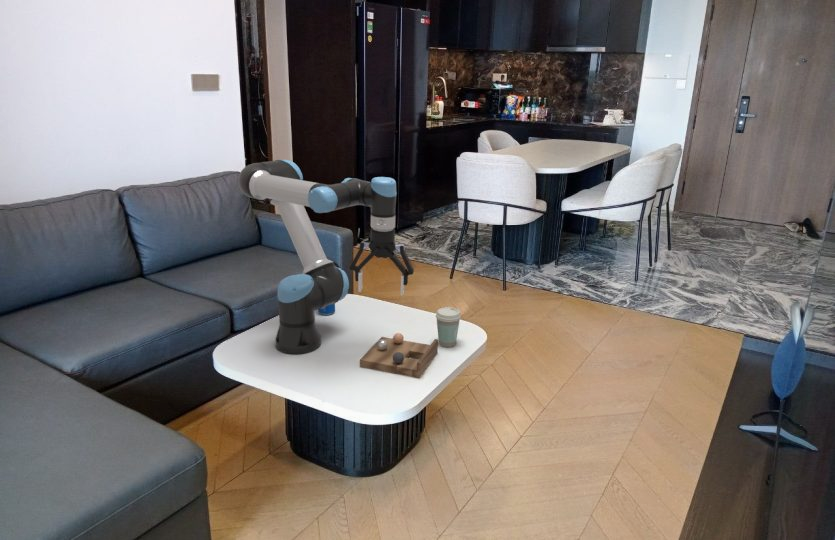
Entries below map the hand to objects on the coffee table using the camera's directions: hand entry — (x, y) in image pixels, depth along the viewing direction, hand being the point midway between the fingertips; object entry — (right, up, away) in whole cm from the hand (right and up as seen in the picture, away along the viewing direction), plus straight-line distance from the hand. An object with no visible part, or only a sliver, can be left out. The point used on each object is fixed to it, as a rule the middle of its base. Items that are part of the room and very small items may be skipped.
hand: (381, 292), depth 187 cm
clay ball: (+5, -16, +7) cm, 18 cm away
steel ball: (0, -17, +3) cm, 17 cm away
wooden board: (+6, -22, +2) cm, 23 cm away
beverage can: (-23, -10, +38) cm, 45 cm away
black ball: (+6, -20, -6) cm, 22 cm away
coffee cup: (+22, -18, +14) cm, 32 cm away
